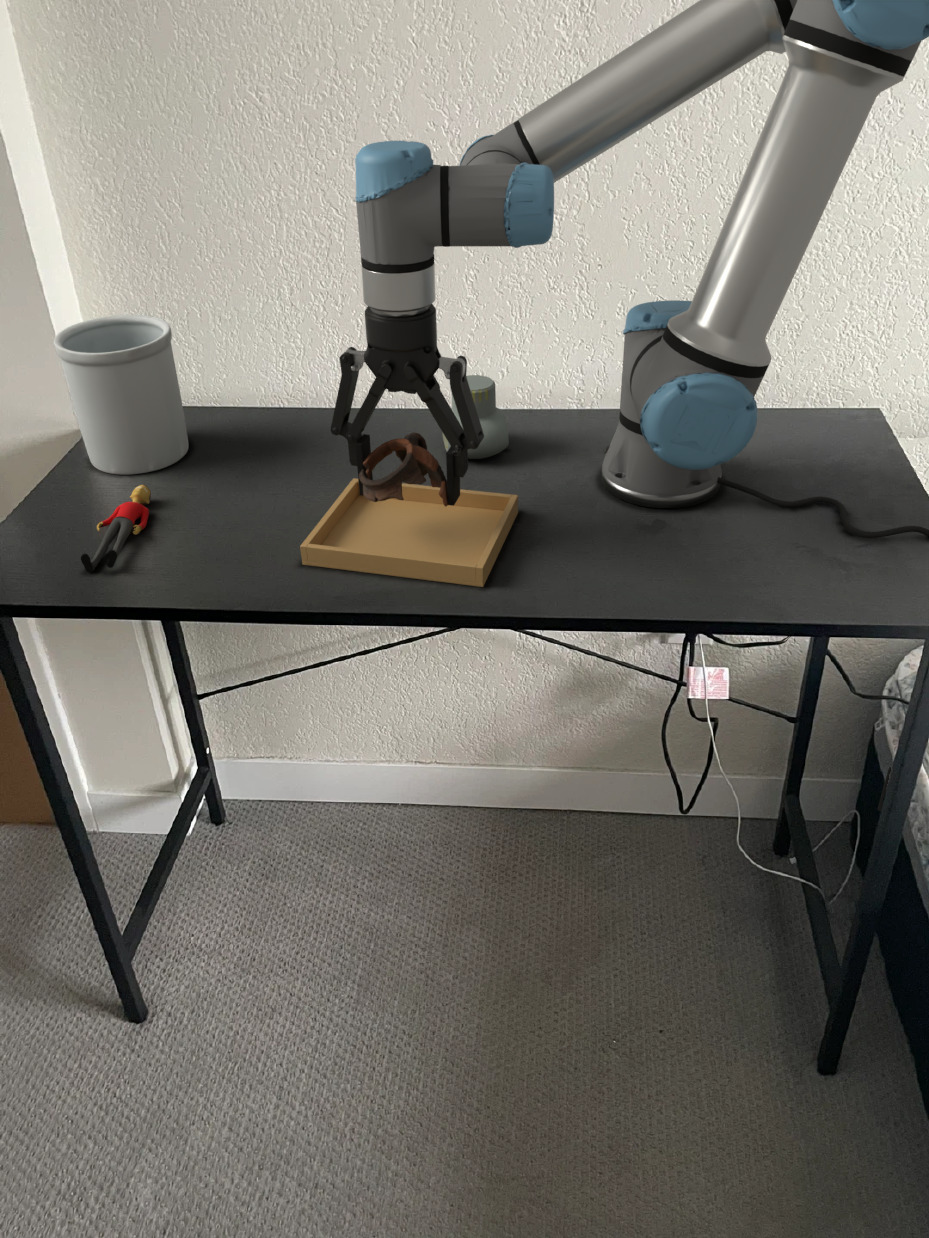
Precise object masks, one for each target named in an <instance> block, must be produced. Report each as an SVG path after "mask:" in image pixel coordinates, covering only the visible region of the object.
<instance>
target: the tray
mask: <svg viewBox="0 0 929 1238" xmlns="http://www.w3.org/2000/svg"><path fill="white" fill-rule="evenodd" d="M439 491H440V488H438V487H432V486H431V485H425V484H424V485H423V484H407V483H405V482H402V496H403V499H404V500H398V499H396V498H390V499H387V500H385V501H377V502H373V501H370V500H368V499H366V498H365V497H364V495H360V494H359V482H358V478H354V477H353V478H352V479H351V480H350V482H349V483H348V485H347V486H346V487H345V488H344V490H343V491H342V492H341V493H340V495H339V496H338V497H337V498H336V500H335V501H334V502H333V504H332V505H331V506H330V507H329V509H328V510H327V511H326V512H325V514H323V516H322V518H321V519H320V520H319V521H318V522H317V523H316V525H315V526H314V527H313V529H312V530H311V532H310V533H309V534H308V536H307V537H306V538H305V539H304V541H303V542H302V543H301V545H300V546H299V549H300V555H301V563H302V564H301V565H303V566H309V567H310V566H311V567H320V568H325V569H326V568H328V569H335V570H342V571H344V570H345V571H351V572H352V571H353V572H359V573H367V574H375V575H383V576H392V577H399V578H406V579H414V580H423V581H431V582H432V581H433V582H439V583H448V584H455V585H463V586H469V587H470V586H471V587H479V588H480V587H481V588H483V587H484V586H485V584H486V581H487V580H488V577H489V575H490V574H491V572H492V569H493V567H494V565H495V563H496V561H497V558H498V556H499V554H500V552H501V550H502V548H503V546H504V543H505V542H506V539H507V537H508V535H509V533H510V531H511V529H512V526H513V525H514V522H515V520H516V518H517V516H518V514H519V495H518V494H512V493H511V494H510V493H500V492H492V491H491V492H490V491H482V490H473V489H461V488H460V496H459V498H458V500H457V501H456V503H455V505H454V506H451V505H448V506H446V507H445V506H444V504H443V501H442V500H443V499H442V498H441V497H440V496H439Z"/></svg>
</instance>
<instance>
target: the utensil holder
mask: <svg viewBox="0 0 929 1238" xmlns="http://www.w3.org/2000/svg"><path fill="white" fill-rule="evenodd" d="M172 338H173V334H172V329H171V325H170V324H169V323H168V321H166V320H164V319H162V318H159V317H157V316H152V315H144V314H118V315H107V316H102V317H96V318H92V319H87V320H83V321H80V322H77V323H75V324H72V325H69V326H68V327H65V328H64V329H62V330H60V331H59V332H58V333H57V334H56V335H55V336H54V338H53V346H54V350H55V352H56V355H57V356H58V357H59V359H60V365H61V367H62V371H63V375H64V378H65V381H66V386H67V388H68V391H69V392H68V393H69V395H70V398H71V403H72V406H73V409H74V413H75V416H76V421H77V423H78V428H79V430H80V433H81V437H82V440H83V443H84V446H85V450H86V452H87V456H88V458H89V461H90V463H91V465H92V466H93V467H94V468H95V469H97V470H99V471H100V472H104V473H107V474H111V475H123V476H124V475H125V476H127V475H129V476H130V475H138V474H139V475H140V474H146V473H150V472H155V471H158V470H161V469H164V468H167V467H169V466H170V467H171V466H172V465H173V464H176V463H177V462H178V461H180V460H181V459H183V458H184V457H185V455H186V454H187V453H188V450H189V438H188V437H189V436H188V430H187V423H186V418H185V412H184V405H183V400H182V395H181V390H180V386H179V385H180V384H179V378H178V374H177V373H178V372H177V367H176V363H175V357H174V351H173V346H172Z"/></svg>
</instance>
